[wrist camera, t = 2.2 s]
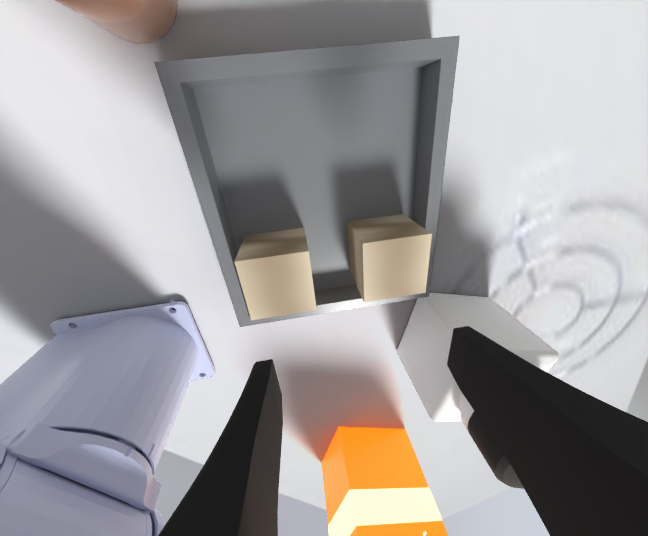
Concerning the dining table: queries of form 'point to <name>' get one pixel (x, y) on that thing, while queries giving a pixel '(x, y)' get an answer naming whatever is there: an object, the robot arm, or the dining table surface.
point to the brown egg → (129, 17)
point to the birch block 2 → (388, 256)
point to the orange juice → (377, 486)
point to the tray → (314, 149)
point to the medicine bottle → (432, 355)
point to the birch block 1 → (276, 273)
